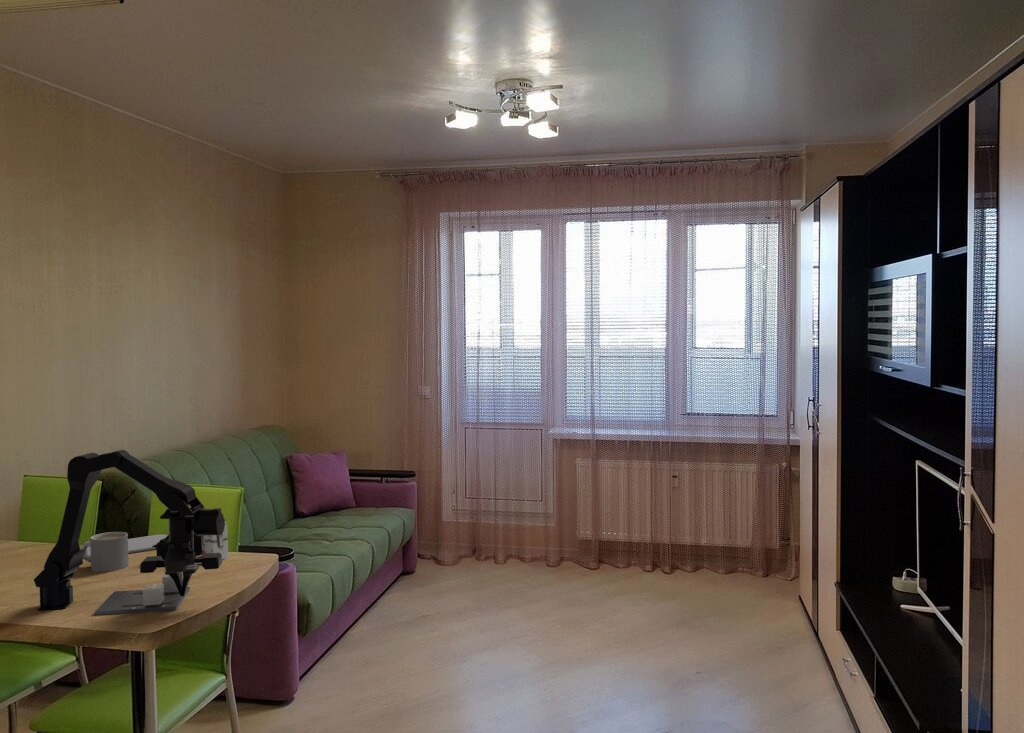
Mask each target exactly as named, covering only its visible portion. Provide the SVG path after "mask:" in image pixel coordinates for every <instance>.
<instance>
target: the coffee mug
mask: <svg viewBox="0 0 1024 733" xmlns="http://www.w3.org/2000/svg"><path fill="white" fill-rule="evenodd" d="M128 534H129V533H127V532H123V531H110V532H102V533H98V534H97V533H96V534H94V535H92V536H90V539H89V540H88V541H85V542H84V543H82V545H81V547H80V549H85V554H84V556H83V560H84V561H85V562H88V563H90V570H91V571H93V572H95V573H107V572H110V573H111V572H116V571H120V570H124V569H126V568H127V567H129V554H128V539H129V535H128ZM88 546H89V547H90V548H91V556H89V555H88V554H87V547H88Z"/></svg>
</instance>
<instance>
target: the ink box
mask: <svg viewBox="0 0 1024 733" xmlns="http://www.w3.org/2000/svg"><path fill="white" fill-rule="evenodd" d="M227 525H228V524H227V522H226V521H225V527H224V531H223V533H222V535H201V537H202V555H201V556H202V558H203V557H204V556H205V554H206V553H220V554H221V555H222V561H224V560H228V559H229V543H228V526H227Z"/></svg>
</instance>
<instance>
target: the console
mask: <svg viewBox="0 0 1024 733" xmlns="http://www.w3.org/2000/svg"><path fill="white" fill-rule="evenodd" d="M190 589H191V587H190V586H188V587H187V590H186V593H185V596H182V597H181V596H180V594H179V592H164V600H163V601H162V603H161V604H160V605H145V606H143V589H133V590H132V589H131V590H116V591H113V592H112V593H111V595H110V596H109V597H108V598H106V599H105V601H104V602H103V603H101V605H100V606H98V608H96V609H95V610H94V616H103V615H117V614H118V615H120V614H135V613H138V614H139V613H140V614H141V613H152V612H153V613H154V612H155V613H157V612H171V611H177V610H178V608H179V607H180V605H182V602H183V601H184V599H185V598H186V597H187V595H188V594H189V593H190V591H191V590H190Z"/></svg>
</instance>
